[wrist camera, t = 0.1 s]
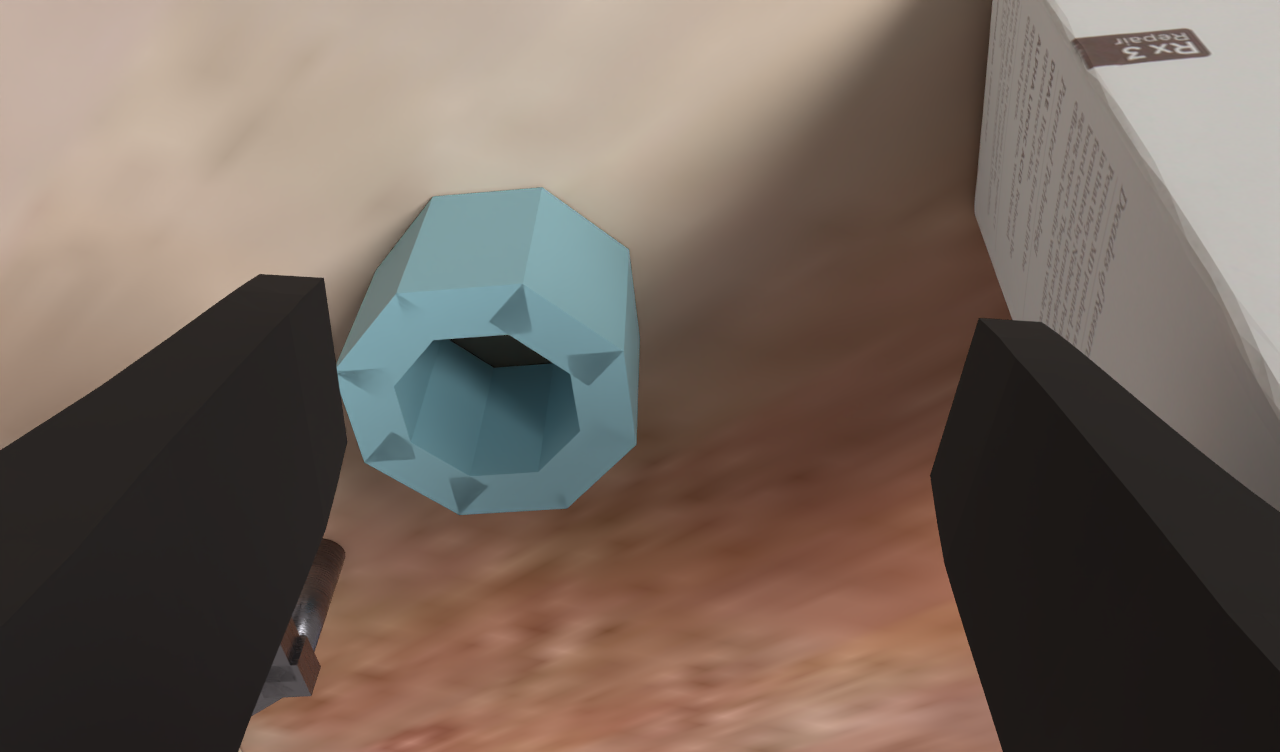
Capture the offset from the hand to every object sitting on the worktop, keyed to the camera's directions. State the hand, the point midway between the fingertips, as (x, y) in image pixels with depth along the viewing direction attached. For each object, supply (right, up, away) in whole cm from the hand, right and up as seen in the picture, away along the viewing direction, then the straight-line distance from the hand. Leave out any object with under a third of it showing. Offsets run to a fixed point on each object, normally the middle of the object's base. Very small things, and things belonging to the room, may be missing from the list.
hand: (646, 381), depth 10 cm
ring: (-3, +2, +11) cm, 12 cm away
